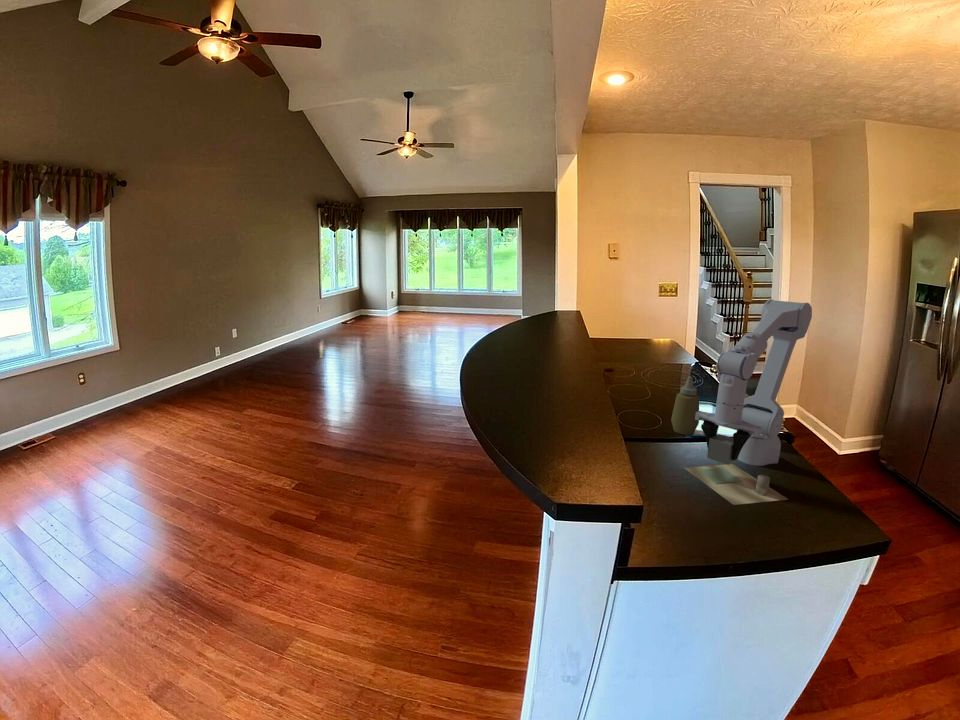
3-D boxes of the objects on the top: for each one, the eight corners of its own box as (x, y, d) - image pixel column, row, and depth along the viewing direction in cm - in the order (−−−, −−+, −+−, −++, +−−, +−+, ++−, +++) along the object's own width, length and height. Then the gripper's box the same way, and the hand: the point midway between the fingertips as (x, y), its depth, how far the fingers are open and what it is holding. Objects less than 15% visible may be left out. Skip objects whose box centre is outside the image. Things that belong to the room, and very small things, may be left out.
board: (731, 469, 123) (734, 449, 122) (787, 505, 106) (791, 483, 105) (683, 473, 121) (686, 453, 119) (732, 510, 103) (736, 488, 102)
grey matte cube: (715, 452, 118) (718, 433, 117) (736, 459, 115) (739, 440, 113) (707, 457, 115) (709, 438, 114) (728, 464, 111) (731, 445, 110)
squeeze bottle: (665, 427, 152) (671, 373, 147) (689, 426, 152) (695, 373, 148) (677, 437, 144) (684, 380, 140) (702, 436, 144) (710, 380, 140)
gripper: (692, 397, 114) (685, 449, 117) (756, 413, 104) (747, 470, 107) (705, 392, 119) (698, 442, 122) (768, 407, 108) (759, 461, 111)
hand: (722, 455), depth 115 cm, fingers closed on grey matte cube, 5 cm apart
